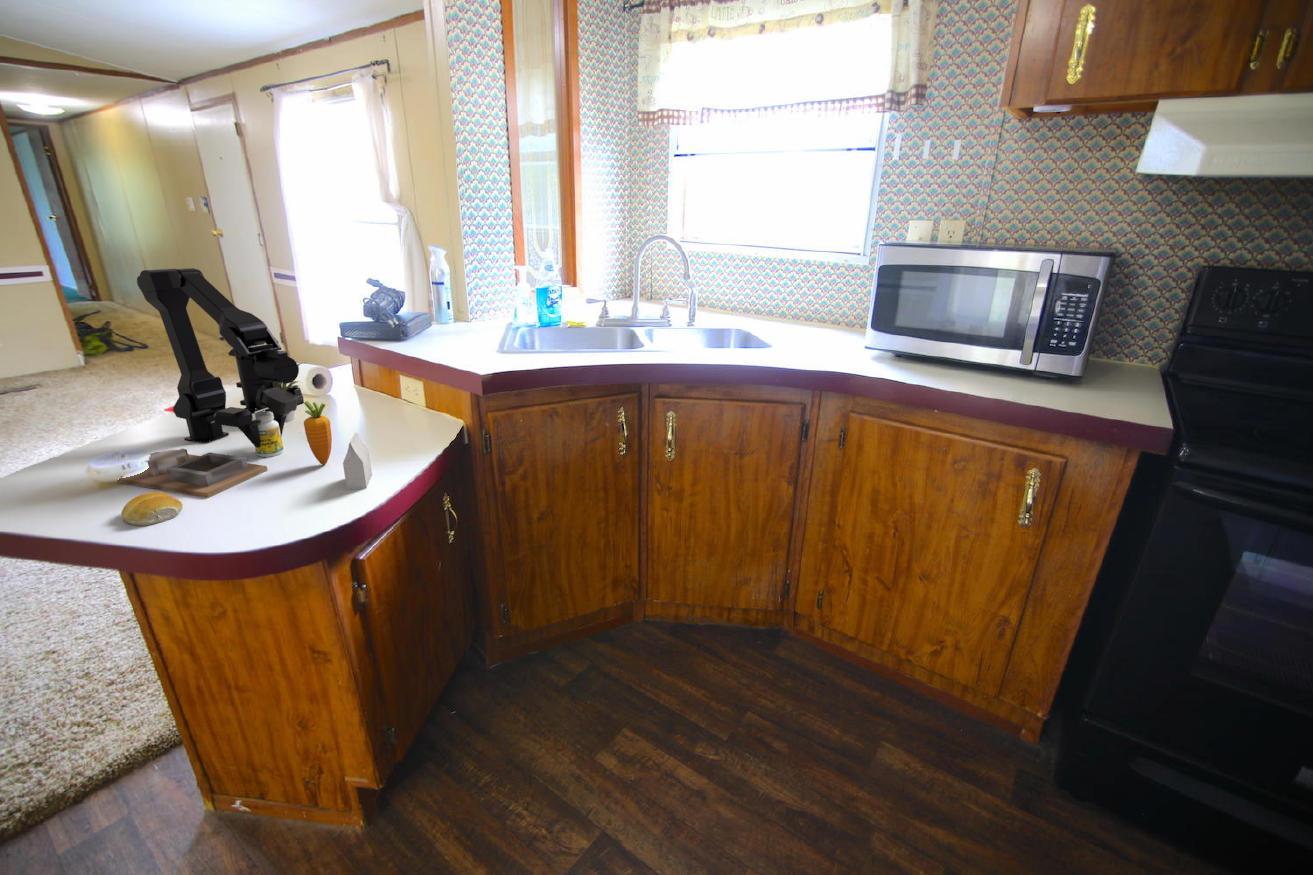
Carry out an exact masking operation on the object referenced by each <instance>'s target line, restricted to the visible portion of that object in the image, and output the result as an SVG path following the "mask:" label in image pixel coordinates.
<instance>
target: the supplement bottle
mask: <svg viewBox="0 0 1313 875" xmlns="http://www.w3.org/2000/svg"><path fill="white" fill-rule="evenodd" d="M255 417H256V420H261V422H260V424H259V425H258V430H259V436H260V445H261V447H259V448H257V447H255V446H254V448H255V452H256V456H258V457H262V458H270V457H275V456H278V455H281V454H282V453H283V452H284V451H285V450H284V444H283V439H282V437H281V433H280V428H279V424H278V422H277V421H275V420H273V419H274V416H273V413H272V412H270V411H262V412H259V413H257V414H255Z"/></svg>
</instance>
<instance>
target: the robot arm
mask: <svg viewBox="0 0 1313 875" xmlns="http://www.w3.org/2000/svg"><path fill="white" fill-rule="evenodd" d="M136 283H137V286H138V288H139V290H140V291H141V293H142V295H143V297H144V300H145V301H146V302H147V303H148V304H150V305H151V306H152V307H153V308H154V309H156V310H157V311H158V313H159V315H160V318H161V320H162V324H163V326H164V329H165V332H166V335H167V338H168V341H169V344H170V347H171V349H172V351H173V355H174V357H175V360H176V363H177V366H178V368H179V372H180V374H181V375H180V377H179V381H178V383H177V387H176V389H177V393H178V398H177V400H176V401H175V403H174V405H173V408H172V411H173V412H174V415H175V417H176V418H178V419H182V420H183V419H184V420H185V422H186V425H187V429H188V434H189V436H186V437H184V438H183V440H184V441H186V442H187V441H188V442H193V443H201V444H207V443H211V442H213V441H216V440H219V439H222V438H224V437H226V436H229V434H230V433H229V432H227V431H226V432H225V431H223V426H225V427H234V428H237V429H239V430H240V432H241V433H243V434H244V436H245V437H246V438H247V439H248V440H249V442H251V444H252V445H253V446H254V448H255V447H257V448H259V447H261V445H260V436H259V430H258V425H259V424H260V422H261V420H256V417H255V414H257V413H259V412H263V411H270V412H272V413H273V416H274V419H273V420H275V421H277V422H278V424H279V428H280V433H281V438H282V436H283V432H284V431H283V430H284V427H285V419H286V416H287V415H288V414H289V413H290V412H291V411H294V412H295V411H296V410H297V407H298V406H301V405H303V404H304V403H305V400H304V396H303V394H302V390H301V388H300V386H298V387H297V386H294V385H293V386H294V387H291V388H289V389H288V390H287V389H280V388H279V387H278V383H277V382H280V383H287V384H290V383H291V382H293V381H296V380H297V378H298V375H299V373H300V372H299V371H300V368H299V366H298V365H297V364H298V362H297V361H296V360H295V359H293V358H292V357H289V356H288V352H287V351H285V350H282V346H281V345H280V344H279V340H277V338H276V337H275V336H274V335H273V333H272V332H271V331H270V329H269V328H268V326H267V324H266V323H265V322H264V321H263V320H262V319H261V318H259V317H257V316H256V315H254V314H253V313H251V312H248V311H245V310H242V309H240V308H238V307H237V306H235V305H234V304H233V303H232V302H231V301H230V300H229V299H228V298H226V296H225V295H224V294H222V293H221V291H219V290H218V289H217V288H216V287H215V286H214V285H213V284H212V283H211V282H210V281H209V280H208V279H206V277H204V274H203V272H202V271H201V270H200V269H197V268H194V267H192V268H191V267H189V268H188V267H187V268H158V269H144V270H142V271H140V273H139V275H138V276H137V278H136ZM190 299H191V300H192V301H194V303H195V304H197V305H198V306H199V307H200V308H201V310H202V311H204V312H205V313H206V314H207V315H208V316H209V317H211V319H213V320H214V322H216V324H217V325H218V332H219V334H220V336H221V337H222V338H223V339H224V340H225V342H226V343H227V344H228V345H229V346H230V347H231V348H232V349H231V350H229V352H228V356H231V357H234V358H235V362H236V368H237V370H238V375H239V382H236V383H235V384H236V388H237V389H238V388H240V389H241V390H242V396H243V399H241V400H239V404H240V406H243V408H242V407H241V408H240V407H236V406H235V407H234V406H229V407H227V406H226V403H227V394H226V393H227V391H226V390H225V388H224V386H223V380H222V378H221V377H219V376H215V375H213V373H211V372H209V370H208V368H207V365H206V363H205V359H204V357H203V354H202V351H201V348H200V345H199V342H198V340H197V337H196V332H195V331H194V327H193V325H192V321H191V319H190V316H189V311H188V310H187V308H188V304H189V301H190Z"/></svg>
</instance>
